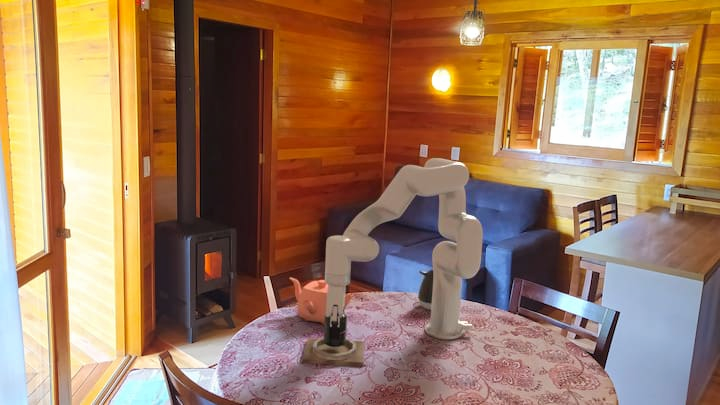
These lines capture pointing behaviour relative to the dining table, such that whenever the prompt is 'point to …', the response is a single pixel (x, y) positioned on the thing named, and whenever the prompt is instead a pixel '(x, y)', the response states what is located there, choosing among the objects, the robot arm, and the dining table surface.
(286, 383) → the dining table surface
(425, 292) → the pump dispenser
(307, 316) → the teapot
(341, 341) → the supplement bottle
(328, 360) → the ring board
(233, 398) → the dining table surface
